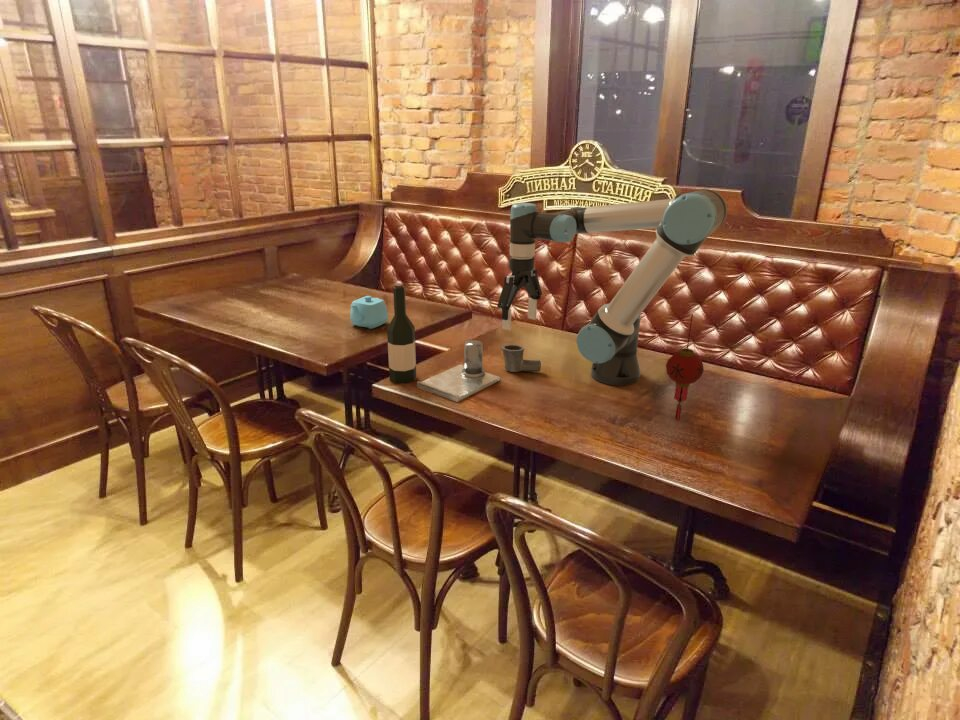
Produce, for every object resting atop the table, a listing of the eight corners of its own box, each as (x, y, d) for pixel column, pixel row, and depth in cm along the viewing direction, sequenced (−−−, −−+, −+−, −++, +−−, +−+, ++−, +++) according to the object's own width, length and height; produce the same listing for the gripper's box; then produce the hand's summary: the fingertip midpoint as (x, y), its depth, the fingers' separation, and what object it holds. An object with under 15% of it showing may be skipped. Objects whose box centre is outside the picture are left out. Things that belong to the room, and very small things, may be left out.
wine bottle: (391, 385, 187) (386, 289, 176) (387, 374, 195) (382, 282, 184) (418, 382, 189) (415, 287, 178) (414, 372, 197) (410, 280, 186)
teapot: (339, 330, 234) (337, 301, 230) (368, 317, 249) (367, 289, 245) (365, 335, 229) (363, 305, 225) (394, 321, 244) (392, 293, 239)
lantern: (652, 419, 168) (665, 313, 156) (670, 408, 174) (684, 306, 163) (684, 431, 161) (700, 322, 150) (702, 419, 167) (718, 314, 156)
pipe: (539, 376, 194) (540, 352, 191) (499, 372, 197) (499, 349, 194) (541, 369, 200) (542, 346, 197) (502, 365, 202) (503, 342, 199)
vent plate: (500, 379, 192) (501, 346, 187) (457, 402, 177) (456, 366, 172) (461, 367, 201) (461, 334, 197) (417, 387, 186) (415, 352, 182)
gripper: (535, 248, 196) (532, 312, 204) (486, 261, 178) (485, 331, 186) (555, 251, 191) (551, 316, 199) (507, 265, 173) (505, 336, 181)
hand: (519, 324), depth 193 cm, fingers open, 13 cm apart
